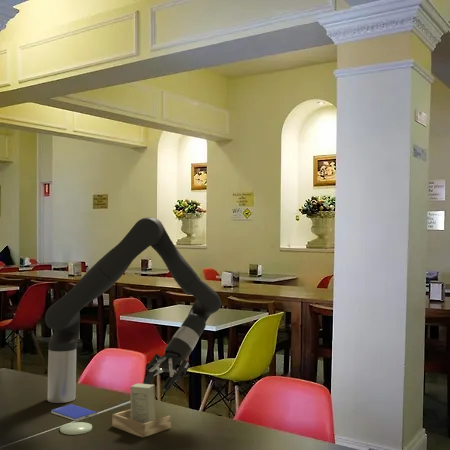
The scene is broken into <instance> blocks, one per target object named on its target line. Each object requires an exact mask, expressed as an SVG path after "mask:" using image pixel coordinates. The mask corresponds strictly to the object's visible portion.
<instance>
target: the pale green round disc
mask: <svg viewBox="0 0 450 450" xmlns="http://www.w3.org/2000/svg"><path fill="white" fill-rule="evenodd" d="M92 430H93V424H91V423H89V422H83V421H80V422H79V421H74V422H70V423H65V424H63V425H61V426H60V428H59V431H60V433H62V434H64V435H69V436H76V435H83V434H88V433H90V432H91V431H92Z"/></svg>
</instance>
